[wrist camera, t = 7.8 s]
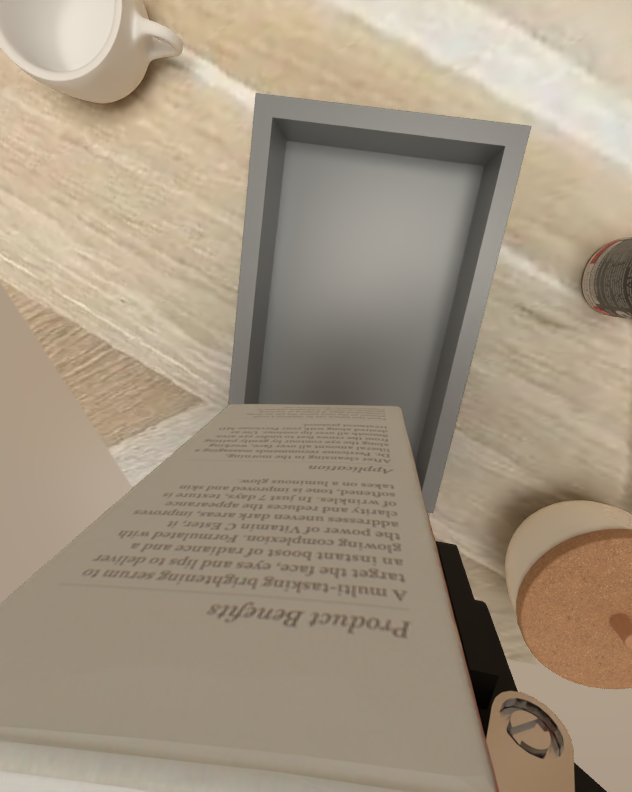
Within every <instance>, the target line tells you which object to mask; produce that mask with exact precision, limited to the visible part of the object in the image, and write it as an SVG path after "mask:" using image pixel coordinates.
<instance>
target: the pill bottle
mask: <svg viewBox="0 0 632 792" xmlns="http://www.w3.org/2000/svg"><path fill="white" fill-rule="evenodd" d="M582 288H583V294H584V296H585V299H586V300H587V302H588V303H589V305H590V306H591V307H592V308H594V309H595V310H596V311H598V312H600V313H602V314H605V315H609V316H614V317H622V318H629V319H632V237H630V238H623V239H619V240H616V241H613V242H611V243H609V244H607V245H605V246H604V247H603V248H601V249H600V250H599V251H598V252H596V253H595V254H594V256H593V257H592V258H591V259H590V261H589V263H588V264H587V266H586V269H585V271H584V275H583V281H582Z"/></svg>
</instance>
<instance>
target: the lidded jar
mask: <svg viewBox="0 0 632 792" xmlns="http://www.w3.org/2000/svg"><path fill="white" fill-rule="evenodd" d="M505 576H506V583H507V589H508V593H509V597H510V600H511V603H512V606H513V608H514V611H515V614H516V616H517V621H518V625H519V627H520V630H521V633H522V635H523V638H524V640H525V642H526V644H527V646H528V647H529V649H530V651H531V652H532V654H533V655H534V656H535V657H536V658H537V659H538V660H539V661H540V662H541V663H542V664H543V665H544V666H546V667H547V668H548V669H549V670H551V671H553V672H555V673H556V674H558V675H559V676H561V677H563V678H565V679H567V680H570V681H572V682H575V683H578V684H582V685H585V686H589V687H596V688H604V689H625V688H632V514H630V513H628V512H626V511H624V510H622V509H619V508H617V507H614V506H611V505H607V504H603V503H599V502H595V501H585V500H578V501H564V502H558V503H555V504H551V505H548V506H546V507H544V508H541V509H539V510H538V511H536V512H534V513H533V514H531V515H530V516H529V517H528V518H526V519H525V520H524V521H523V522H522V523H521V524H520V526H519V527H518V528H517V530H516V531H515V533H514V534H513V536H512V538H511V540H510V543H509V545H508V549H507V553H506V559H505Z"/></svg>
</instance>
